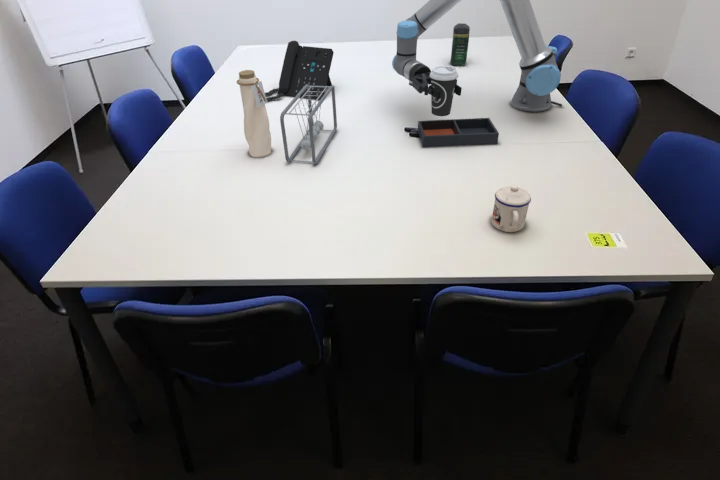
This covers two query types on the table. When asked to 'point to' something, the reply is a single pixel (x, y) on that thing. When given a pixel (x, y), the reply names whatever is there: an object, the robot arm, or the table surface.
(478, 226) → the table surface
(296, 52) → the office phone
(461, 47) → the green shampoo bottle
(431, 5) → the robot arm
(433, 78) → the coffee cup
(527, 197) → the teacup with lid
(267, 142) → the water bottle
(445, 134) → the divided storage tray
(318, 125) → the newton's cradle
